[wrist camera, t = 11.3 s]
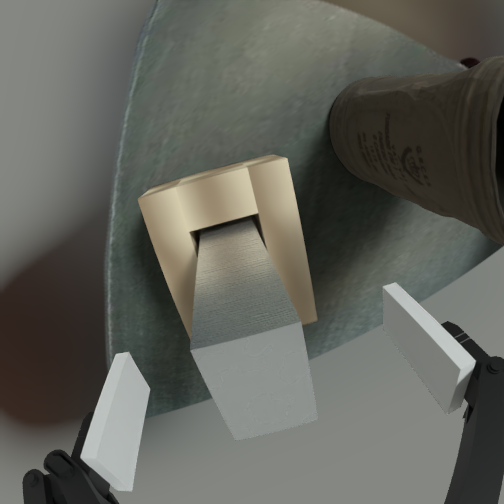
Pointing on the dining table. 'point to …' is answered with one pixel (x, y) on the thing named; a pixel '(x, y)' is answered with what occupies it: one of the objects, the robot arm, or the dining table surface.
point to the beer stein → (430, 140)
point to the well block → (222, 210)
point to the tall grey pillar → (248, 334)
